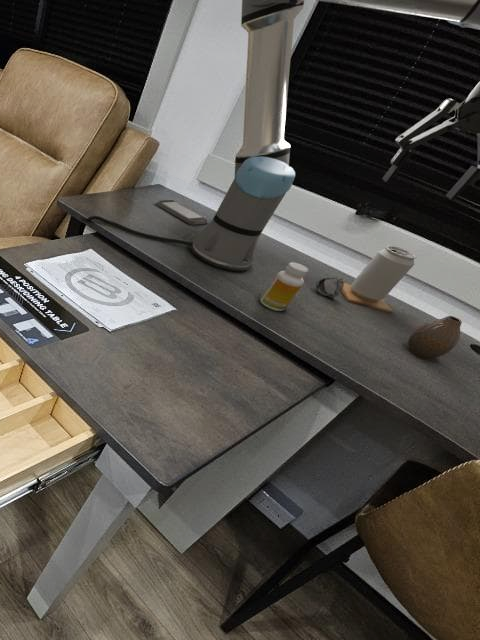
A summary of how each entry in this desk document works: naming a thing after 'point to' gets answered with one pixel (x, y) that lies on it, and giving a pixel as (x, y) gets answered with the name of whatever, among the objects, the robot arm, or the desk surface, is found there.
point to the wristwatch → (321, 287)
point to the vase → (435, 337)
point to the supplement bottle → (284, 287)
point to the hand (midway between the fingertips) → (417, 189)
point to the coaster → (356, 299)
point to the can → (383, 273)
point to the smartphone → (182, 212)
